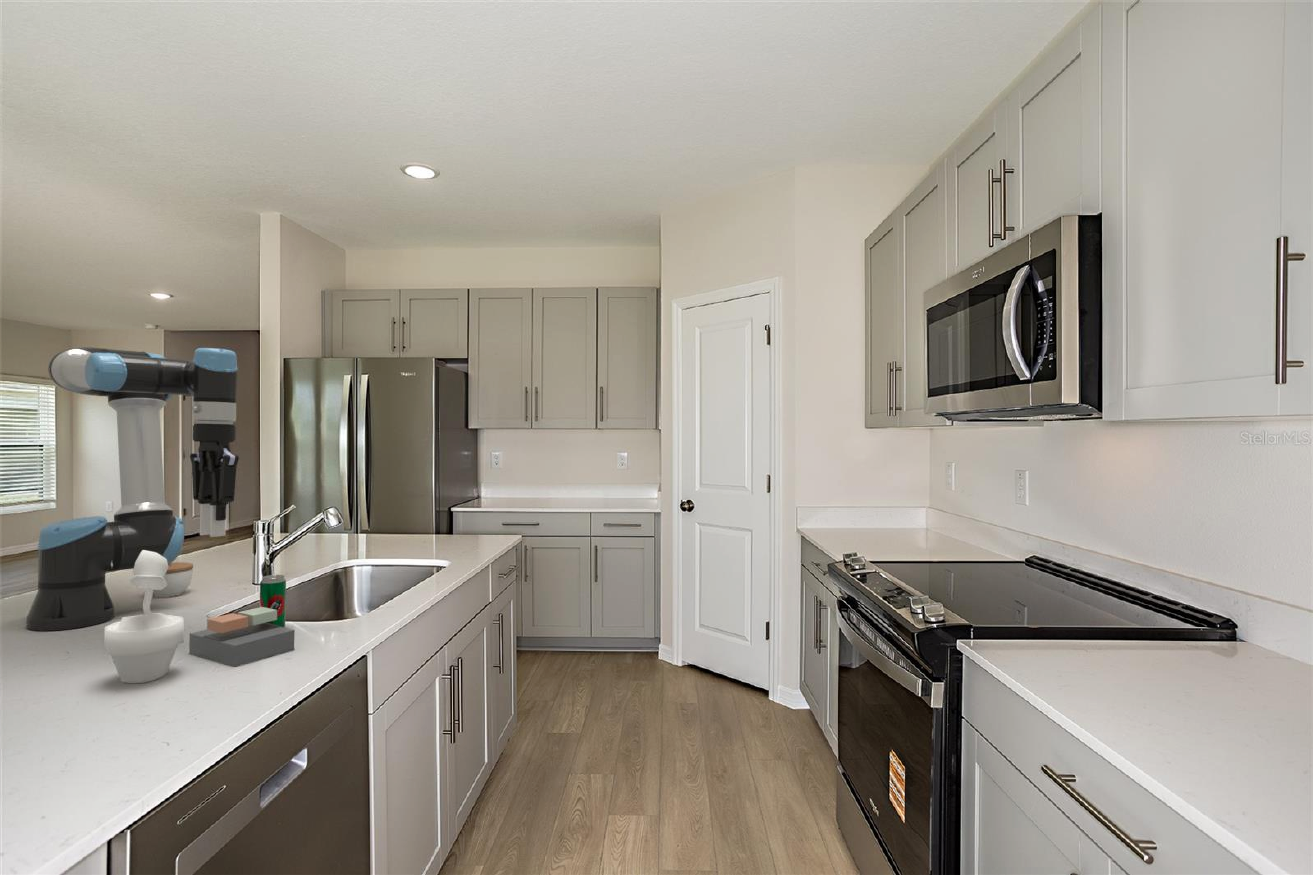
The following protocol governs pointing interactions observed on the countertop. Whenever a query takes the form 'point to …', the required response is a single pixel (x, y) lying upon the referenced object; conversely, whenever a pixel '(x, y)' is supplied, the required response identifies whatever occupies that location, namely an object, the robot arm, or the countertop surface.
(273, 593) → the soda can
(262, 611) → the sage key
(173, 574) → the lidded jar
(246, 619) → the rust key
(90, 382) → the robot arm
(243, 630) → the button panel
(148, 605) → the white floating cup sculpture
